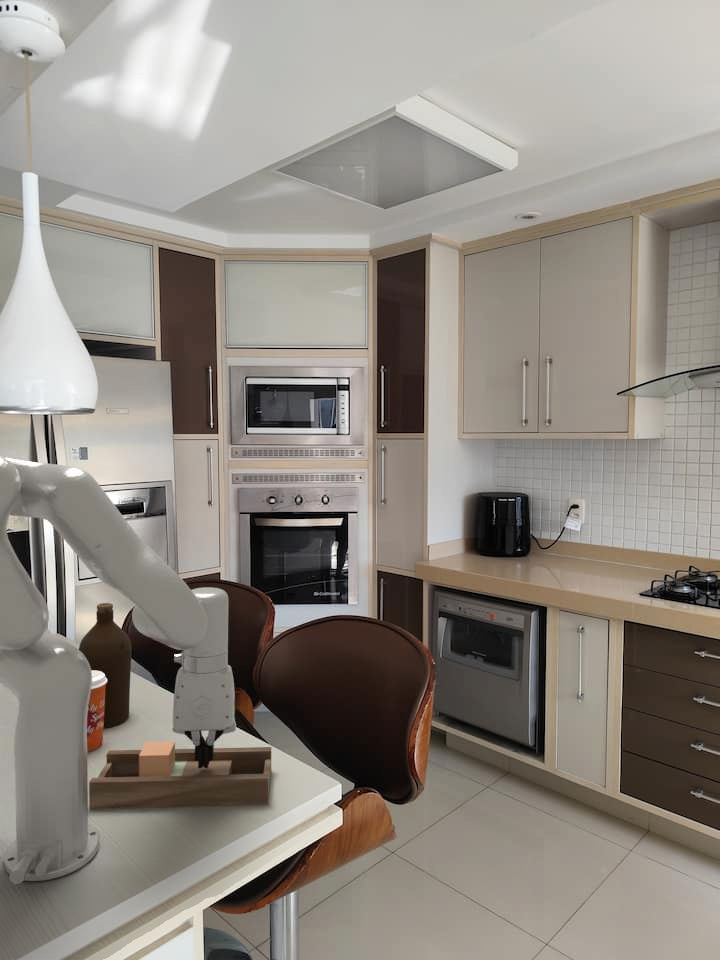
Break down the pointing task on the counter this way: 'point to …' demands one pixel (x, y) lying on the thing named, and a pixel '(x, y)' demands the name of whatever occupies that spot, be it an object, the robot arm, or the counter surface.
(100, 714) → the paper cup
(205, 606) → the robot arm
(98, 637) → the olive oil
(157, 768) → the block
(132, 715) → the counter surface
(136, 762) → the box
